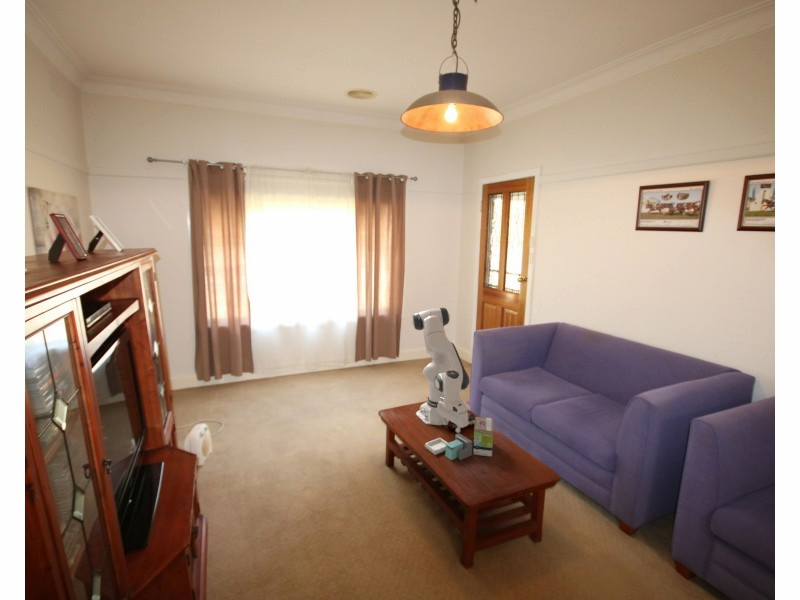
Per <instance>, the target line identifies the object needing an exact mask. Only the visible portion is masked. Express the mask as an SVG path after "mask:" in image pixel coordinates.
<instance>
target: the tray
mask: <svg viewBox="0 0 800 600" xmlns="http://www.w3.org/2000/svg"><path fill="white" fill-rule="evenodd" d="M447 443H448V441H446V440H444V439H443V438H441V437H438V438H436V439H432V440H430V441H428V442H427V441H426V442H425V443H424V448H425V449H426V450H428V451H429V452H430V453H432V454H433V455H439V454H440V453H443V452H445V451H446V444H447Z"/></svg>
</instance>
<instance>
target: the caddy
mask: <svg viewBox="0 0 800 600" xmlns="http://www.w3.org/2000/svg"><path fill="white" fill-rule="evenodd" d="M461 449H463V443H462V442H460V441H459V440H455V439H454V440H453V441H450V442H447V444H446V451H444V452H445V453H444V455H445V457H446V458H447V459H448V460H451V461H453V460H456V459H457V458H458V450H461Z"/></svg>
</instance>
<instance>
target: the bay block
mask: <svg viewBox="0 0 800 600" xmlns="http://www.w3.org/2000/svg"><path fill="white" fill-rule="evenodd" d="M454 440H459V441H460V442H462V443H463V449H461V450H458V460H459V461H462V460H464V459H467V458H469V457H471V456H472V455H473V440H471V439H469V438H468V437H466V436H464V435H463V434H461V432H459V433H458V432H457V433H456V434H454Z"/></svg>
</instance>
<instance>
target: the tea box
mask: <svg viewBox="0 0 800 600" xmlns="http://www.w3.org/2000/svg"><path fill="white" fill-rule="evenodd" d="M473 429H474V430H473V446H472V455H476V456H483V457H484V456H485V457H492V456H493V449H494V447H493V444H494V433H495V431H494V419H493V417H483V416H482V417H481V416H475V418H474V427H473Z"/></svg>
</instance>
